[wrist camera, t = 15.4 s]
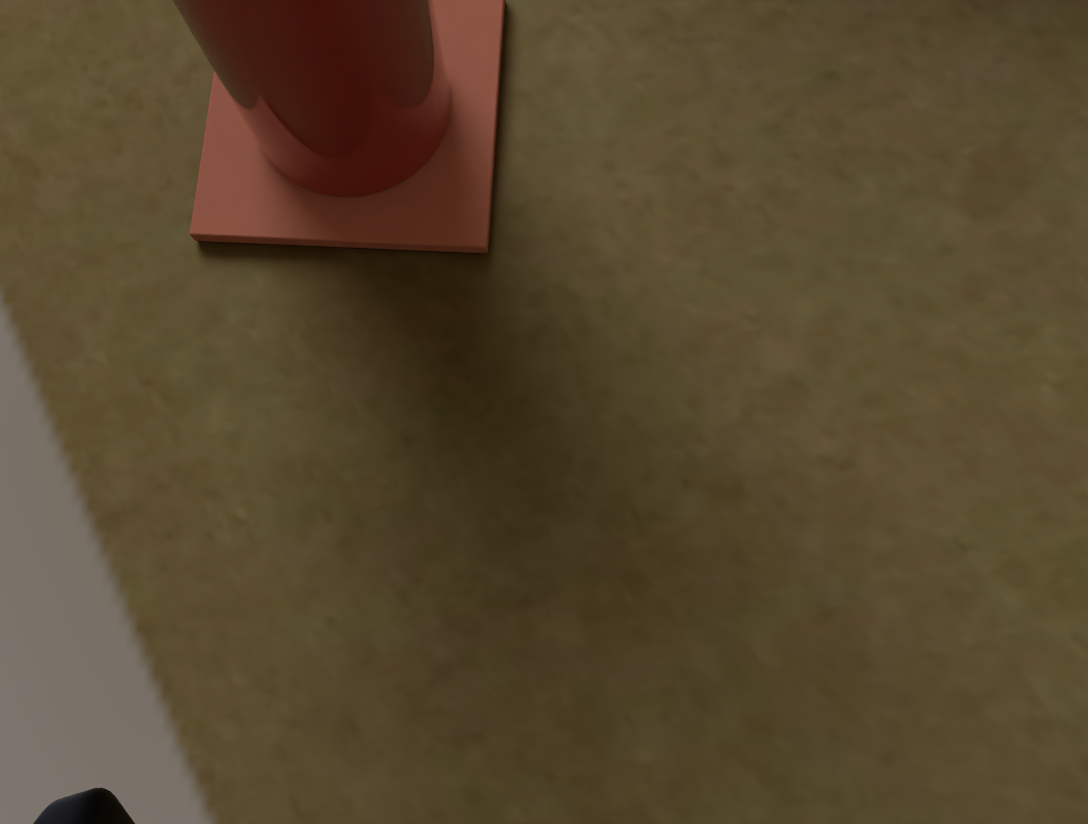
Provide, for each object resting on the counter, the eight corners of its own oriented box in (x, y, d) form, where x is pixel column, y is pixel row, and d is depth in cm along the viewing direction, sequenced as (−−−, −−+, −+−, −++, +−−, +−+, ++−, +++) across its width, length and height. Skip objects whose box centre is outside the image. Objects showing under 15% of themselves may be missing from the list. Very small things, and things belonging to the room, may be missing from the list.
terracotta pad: (488, 254, 22) (486, 247, 22) (194, 241, 22) (188, 234, 22) (505, -3, 24) (504, -13, 23) (232, -12, 24) (227, -23, 24)
